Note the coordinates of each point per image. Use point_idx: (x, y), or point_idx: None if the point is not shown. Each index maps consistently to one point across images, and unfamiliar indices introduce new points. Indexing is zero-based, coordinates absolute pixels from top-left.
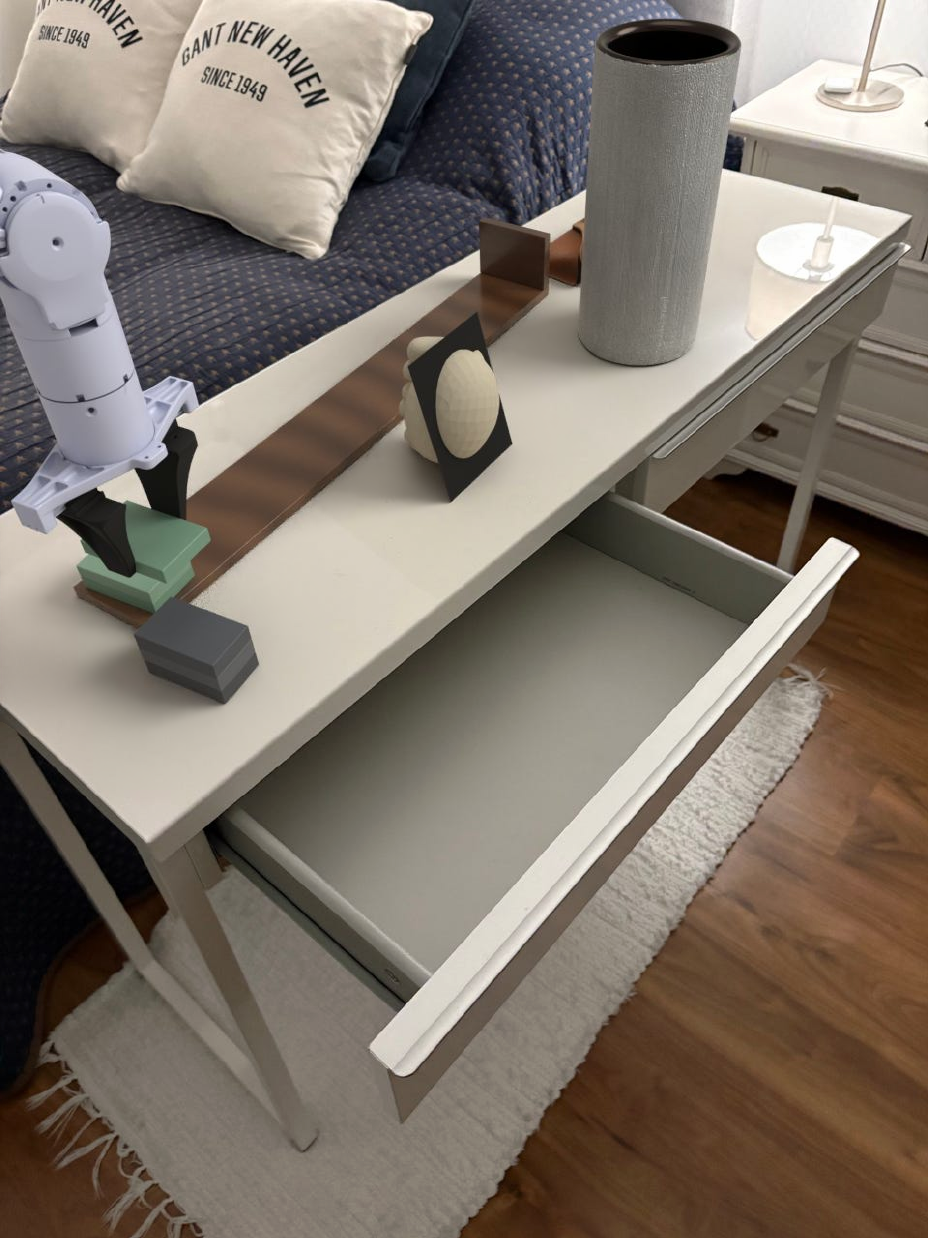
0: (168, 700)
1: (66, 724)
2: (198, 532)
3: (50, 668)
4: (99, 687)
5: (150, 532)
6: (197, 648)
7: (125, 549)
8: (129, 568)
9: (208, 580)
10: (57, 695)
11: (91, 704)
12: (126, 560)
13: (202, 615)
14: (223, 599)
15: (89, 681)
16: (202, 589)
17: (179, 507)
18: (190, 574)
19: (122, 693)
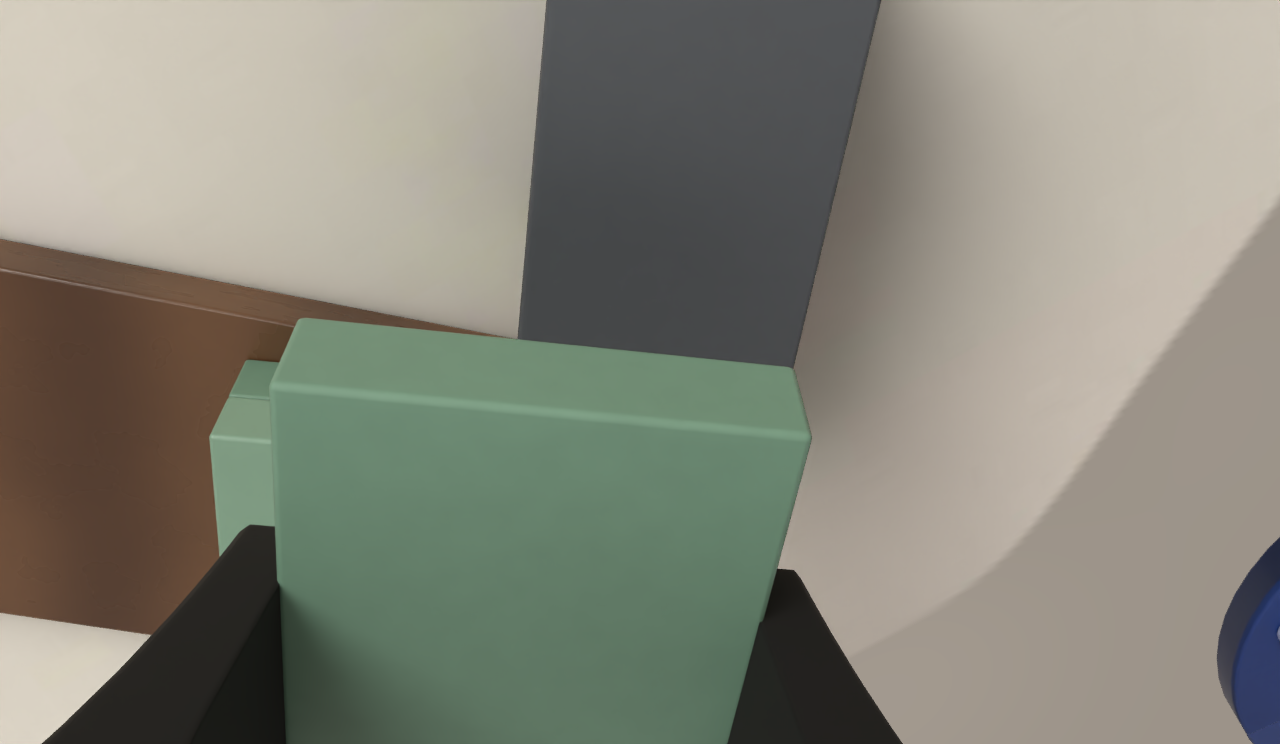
0: (872, 117)
1: (1047, 394)
2: (345, 414)
3: (824, 561)
4: (867, 385)
5: (484, 668)
6: (799, 62)
7: (848, 737)
8: (818, 616)
9: (231, 299)
10: (930, 484)
11: (947, 368)
12: (843, 671)
13: (576, 158)
14: (279, 192)
15: (848, 428)
16: (280, 298)
17: (240, 647)
18: (262, 375)
19: (876, 298)
